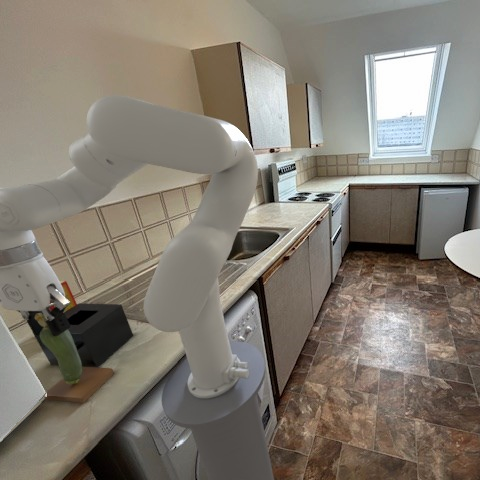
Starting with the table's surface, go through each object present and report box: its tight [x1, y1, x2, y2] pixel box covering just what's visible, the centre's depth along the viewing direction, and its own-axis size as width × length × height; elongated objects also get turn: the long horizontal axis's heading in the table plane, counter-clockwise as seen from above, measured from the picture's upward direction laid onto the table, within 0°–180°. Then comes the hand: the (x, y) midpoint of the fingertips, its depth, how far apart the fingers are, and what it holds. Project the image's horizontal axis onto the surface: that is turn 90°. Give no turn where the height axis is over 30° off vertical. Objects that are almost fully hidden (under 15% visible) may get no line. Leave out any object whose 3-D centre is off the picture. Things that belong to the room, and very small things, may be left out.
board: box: [44, 367, 115, 404], centre depth 63 cm, size 10×8×2 cm
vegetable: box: [35, 313, 82, 385], centre depth 59 cm, size 4×4×20 cm
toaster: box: [32, 302, 134, 368], centre depth 72 cm, size 14×13×11 cm
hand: (52, 330), depth 57 cm, fingers closed on vegetable, 3 cm apart
